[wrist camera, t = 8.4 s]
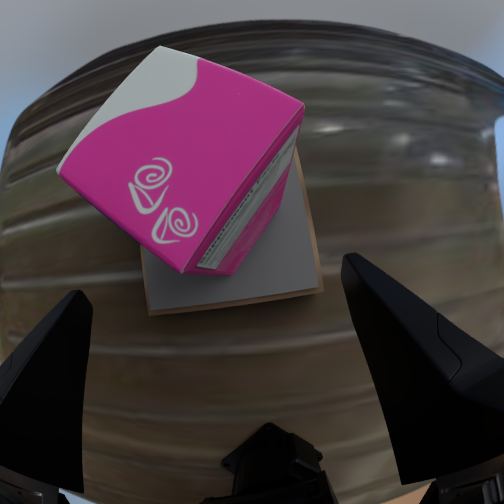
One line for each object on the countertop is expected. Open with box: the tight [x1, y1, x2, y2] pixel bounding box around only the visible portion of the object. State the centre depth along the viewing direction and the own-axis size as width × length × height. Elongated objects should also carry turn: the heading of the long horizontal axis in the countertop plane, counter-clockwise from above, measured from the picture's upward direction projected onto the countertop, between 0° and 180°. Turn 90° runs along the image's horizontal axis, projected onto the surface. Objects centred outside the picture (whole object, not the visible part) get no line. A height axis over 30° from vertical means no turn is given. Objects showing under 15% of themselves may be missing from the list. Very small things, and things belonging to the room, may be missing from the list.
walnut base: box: [140, 145, 324, 316], centre depth 19 cm, size 12×12×3 cm
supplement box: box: [56, 46, 305, 275], centre depth 12 cm, size 6×6×12 cm
